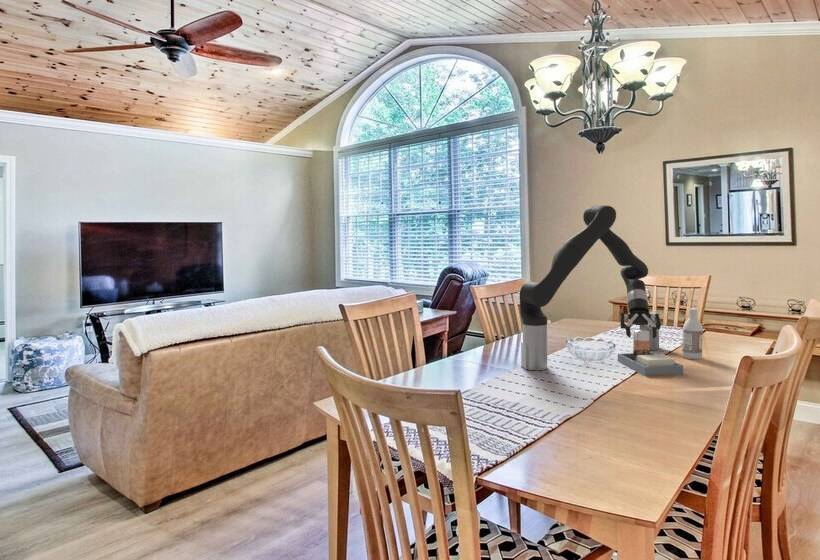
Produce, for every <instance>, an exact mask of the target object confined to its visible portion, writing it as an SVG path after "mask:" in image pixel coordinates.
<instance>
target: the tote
mask: <svg viewBox="0 0 820 560" xmlns="http://www.w3.org/2000/svg"><path fill="white" fill-rule="evenodd" d="M650 355H658V354H657V353H656V352H655V353H654V352H651V351H650ZM617 362H618V363H620V365H621V364H622V365H623V366H626V367H627V368H629V369H631V370H633V371H635V372H637V373H638V374H640V375H642V376H644V377H651V376H670V375H673V376H674V375H675V376H676V375H683V374H684V365H682V364H680V363H679V362H675V361H674V365H673V366H651V367H645V366H643V365H641V364H639V363H637V362H635V361H633V352H631V353H629V352H627V353H626V352H625V353H617Z"/></svg>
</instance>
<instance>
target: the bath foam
mask: <svg viewBox="0 0 820 560" xmlns="http://www.w3.org/2000/svg"><path fill="white" fill-rule="evenodd" d="M698 310H699V309H698V308H696V307H695V308H694V307H691V308H689V310H688V313H689V314H688V318H687V320H685V322H684V325H683V328H682V350H681V352H682V358H684V359H687V360H696V361H697V360H701V359H702V358H703V341H704V340H703V336H704V333H703V332H704V328H703V325H702V323H701V321H700V319H699V318H698V316H699V315H698V314H699V313H698Z"/></svg>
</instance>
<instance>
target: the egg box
mask: <svg viewBox="0 0 820 560" xmlns="http://www.w3.org/2000/svg"><path fill="white" fill-rule="evenodd" d="M674 362H675V358H673V357H670V356H668V355H666V354H664V353H662V354H661V353H660V354H657V355H637V363H639V364H641V365H643V366H645V367H651V366H673V365H674Z"/></svg>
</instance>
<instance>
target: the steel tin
mask: <svg viewBox="0 0 820 560" xmlns="http://www.w3.org/2000/svg"><path fill="white" fill-rule="evenodd" d="M632 346H633V348H632V351H633V352H632V353H633V361H635V362H637V355H650V352H651V350H650V330H647V329H640V328H634V329H633V345H632Z"/></svg>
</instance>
